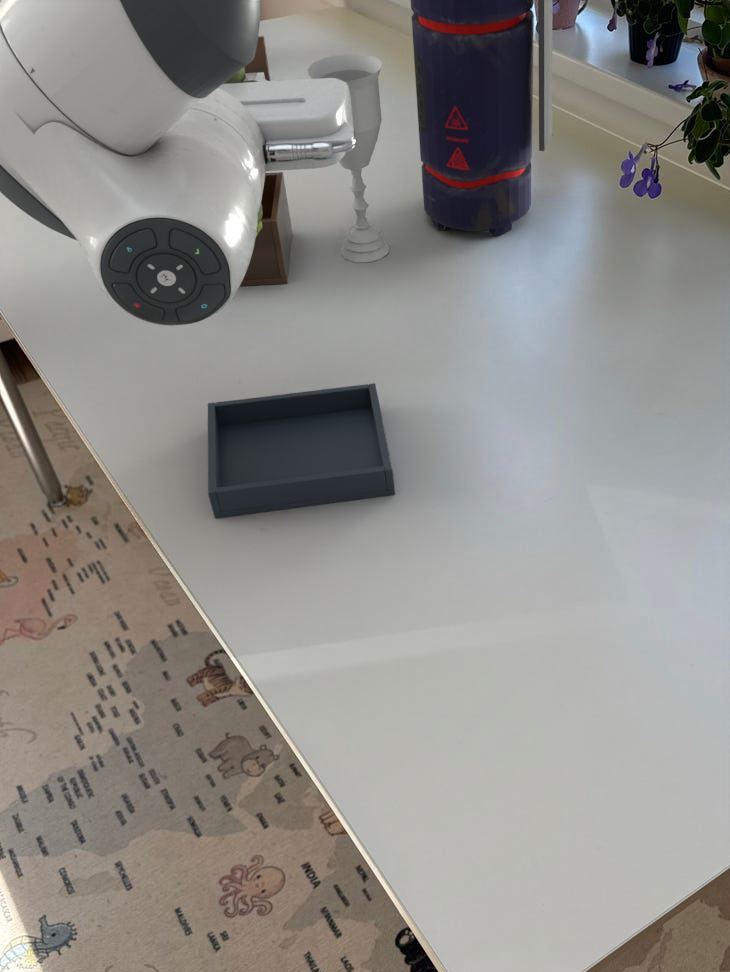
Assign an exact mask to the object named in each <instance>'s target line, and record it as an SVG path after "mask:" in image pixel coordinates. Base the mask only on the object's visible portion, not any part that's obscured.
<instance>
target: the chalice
mask: <svg viewBox="0 0 730 972" xmlns="http://www.w3.org/2000/svg"><path fill="white" fill-rule="evenodd" d="M382 67H383V62H382V61H381V60H380V59H379V58H377V57H375V56H372V55H369V54H362V53H344V54H336V55H332V56H327V57H324V58H321V59H319V60H316V61H315V62H313V63H311V64H310V65H309V66H308V68H307V74H308V76H309V77H310V79H321V78H336V79H339V80H342V81H344V82H346V83H347V84H348V86H349V91H350V99H351V107H352V118H353V128H354V130H355V133H356V142H355V146H354V148H353V150H351V151H349V152H346V153H345V155H344V157H343V158H342V159H341V160H340V161H339V162H338V163H339V165H341V167H342V168H343V169H345V170H349V171H350V172H351V176H352V180H351V185H350V187H349V188H350V191H351V192H352V193H353V196H354V201H353V203H352V205H351V208H352V209H353V211H355V215H356V223H355V224H354V225H353V226H351V227H350V228H349V229H348V230H347V232H346V234H345V238H344V241H343V246H342V249H341V251H340V254H341V256H342V257H343V258H344V259H345V260H348V261H349V262H353V263H373V262H375V261H379V260H382V259H383V258H384V257H386V256H387V254H389V251H390V248H389V246H388V244H387V243H386V242H385V238H384V236H382V233H381V231H380V230H379V228H377V226H375V225H373V224H371V223H370V222H369V221H368V220H367V217H366V216H367V215H366V214H367V209H368V208H369V206H370V205H369V203H368V202H367V201H366V200H365V197H364V195H365V190H366V188H367V186H366V185H365V183H364V181H363V178H362V171H363V169H364V168H366V167H367V166H369V165H370V163H371V159H372V156H373V154H374V150H375V148H376V145H377V142H378V139H379V135H380V129H381V124H382V109H381V97H380V87H379V85H380V84H379V76H380V73H381V70H382Z"/></svg>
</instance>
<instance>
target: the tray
mask: <svg viewBox="0 0 730 972" xmlns="http://www.w3.org/2000/svg"><path fill="white" fill-rule="evenodd" d="M207 495H208V498H209V502H210V506H211V509H212V513H213V516H214V519H219V518H227V517H228V518H229V517H234V516H242V515H243V516H244V515H250V514H258V513H265V512H272V511H273V512H274V511H280V510H281V511H282V510H288V509H295V508H302V507H311V506H317V505H325V504H335V503H341V502H348V501H356V500H363V499H371V498H378V497H384V496H386V497H387V496H393V495H396V490H395V478H394V470H393V465H392V460H391V455H390V450H389V445H388V439H387V436H386V430H385V424H384V419H383V414H382V410H381V405H380V400H379V395H378V391H377V385H376V383H367V384H357V385H349V386H341V387H332V388H324V389H316V390H315V389H314V390H307V391H300V392H292V393H291V392H289V393H283V394H282V393H281V394H275V395H274V394H273V395H266V396H258V397H249V398H241V399H233V400H225V401H217V402H208V403H207Z"/></svg>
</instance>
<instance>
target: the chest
mask: <svg viewBox="0 0 730 972" xmlns="http://www.w3.org/2000/svg"><path fill="white" fill-rule="evenodd" d="M261 204H262V212H263V215H262V219H261V222H262V229H261V230H260V231H259V233H258V235H257V237H256V239H255V244H254V249H253V253H252V256H251V259H250V263H249V266H248V269H247V271H246V273H245V276H244V278H243V280H242V282H241V284H240V286H239V287H249V286H267V285H282V284H288V281H289V280H288V279H289V270H290V269H289V268H290V259H291V251H292V250H291V249H292V239H293V227H292V221H291V215H290V208H289V203H288V195H287V190H286V183H285V177H284V172H283V171H278V172H277V171H275V172H266V175H265V181H264V188H263V194H262V200H261Z"/></svg>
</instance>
